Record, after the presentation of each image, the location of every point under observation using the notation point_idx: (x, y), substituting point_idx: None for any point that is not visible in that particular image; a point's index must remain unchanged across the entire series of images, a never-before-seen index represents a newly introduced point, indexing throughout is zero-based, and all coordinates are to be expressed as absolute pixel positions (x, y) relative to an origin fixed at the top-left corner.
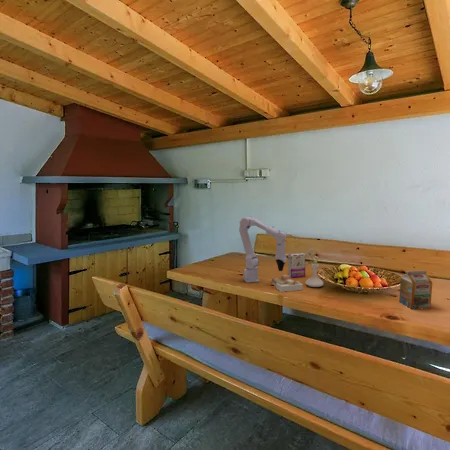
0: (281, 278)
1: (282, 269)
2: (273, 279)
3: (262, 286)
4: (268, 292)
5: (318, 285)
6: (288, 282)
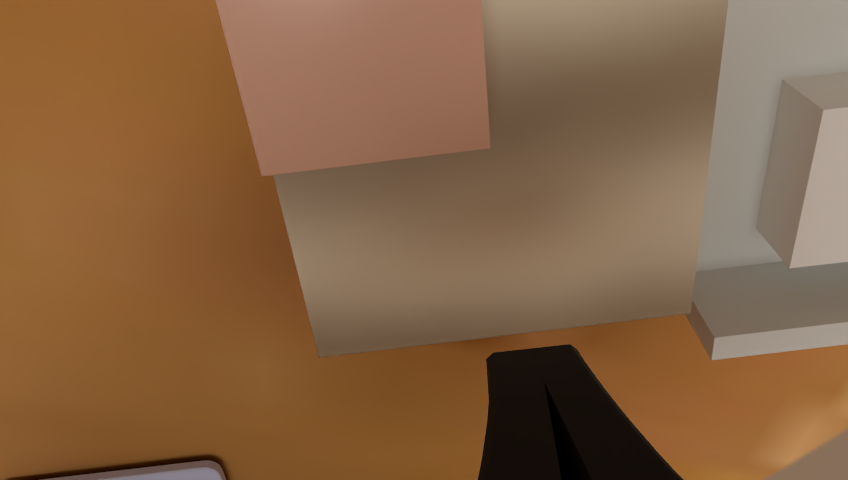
0: None
1: (599, 390)
2: (391, 337)
3: None
4: (818, 427)
5: None
6: (719, 34)
